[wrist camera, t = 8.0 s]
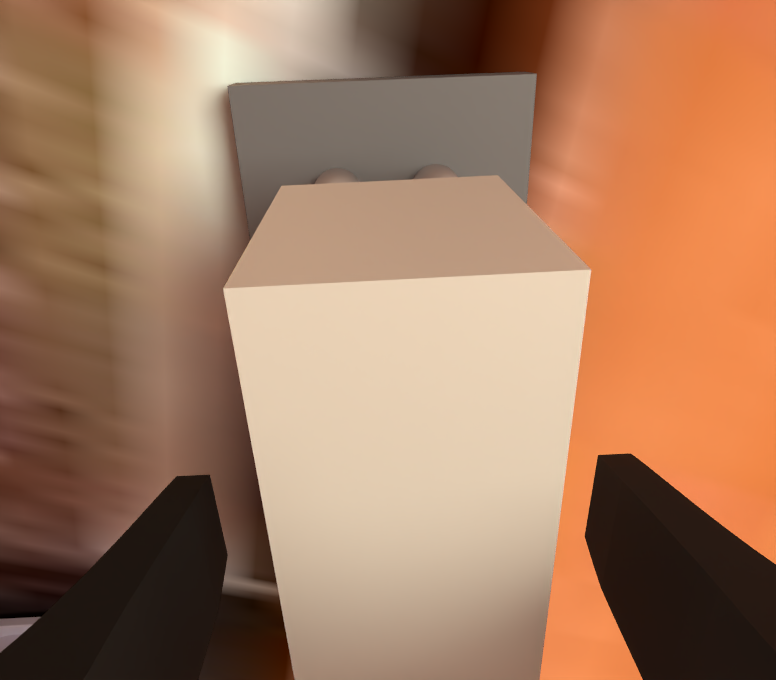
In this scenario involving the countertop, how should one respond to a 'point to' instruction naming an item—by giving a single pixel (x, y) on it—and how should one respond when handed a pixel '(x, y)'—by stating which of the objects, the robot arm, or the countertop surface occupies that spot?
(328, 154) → the peg stand
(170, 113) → the countertop surface
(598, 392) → the countertop surface
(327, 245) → the beige rectangular block
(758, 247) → the countertop surface
